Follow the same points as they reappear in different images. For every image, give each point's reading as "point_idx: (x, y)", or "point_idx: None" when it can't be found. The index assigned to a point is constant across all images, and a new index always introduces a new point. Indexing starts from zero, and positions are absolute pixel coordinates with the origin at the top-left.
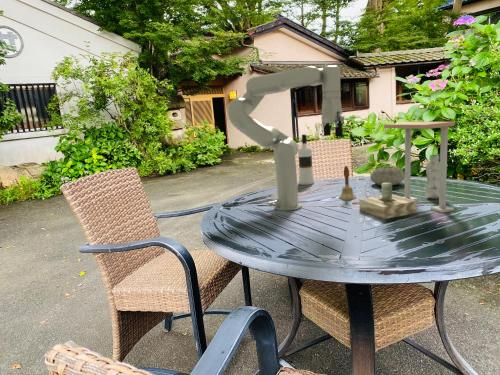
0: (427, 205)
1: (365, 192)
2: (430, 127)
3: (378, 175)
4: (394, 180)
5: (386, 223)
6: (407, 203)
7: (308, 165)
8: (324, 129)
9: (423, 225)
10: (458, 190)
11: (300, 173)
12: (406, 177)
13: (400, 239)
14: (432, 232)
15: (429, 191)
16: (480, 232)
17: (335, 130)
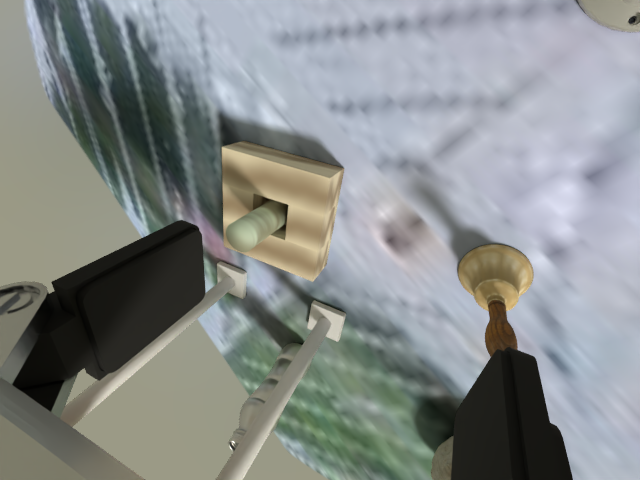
0: (270, 296)
1: (485, 357)
2: None
3: None
4: (441, 447)
5: (218, 117)
6: (224, 220)
7: None
8: (520, 467)
9: (178, 163)
10: (310, 419)
11: None
12: (296, 359)
13: (130, 47)
14: (144, 137)
15: (288, 353)
16: (125, 192)
17: (112, 258)
